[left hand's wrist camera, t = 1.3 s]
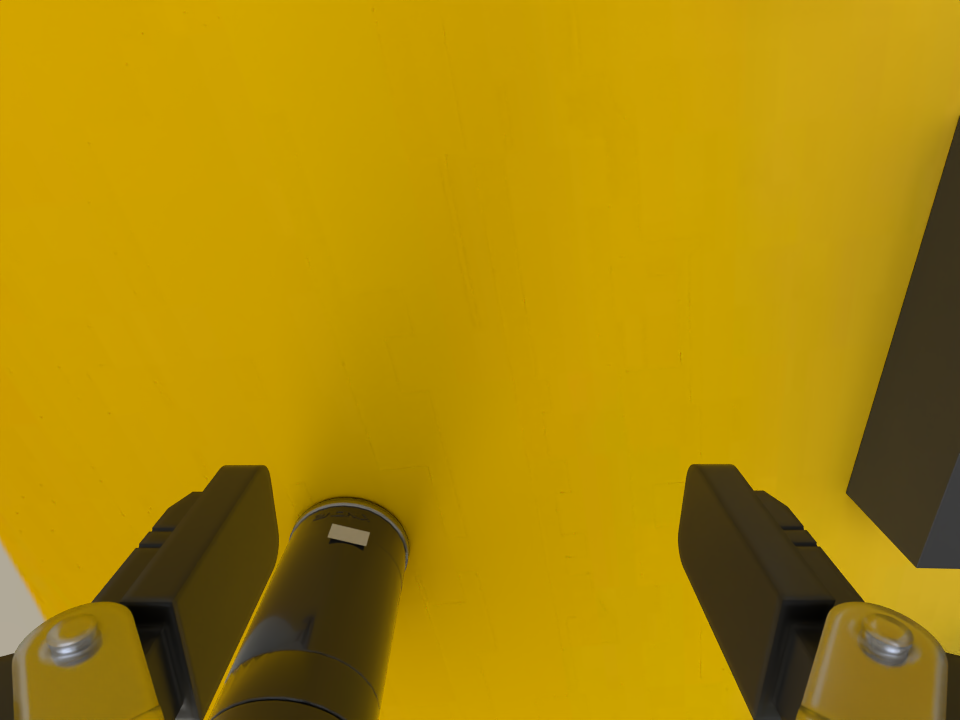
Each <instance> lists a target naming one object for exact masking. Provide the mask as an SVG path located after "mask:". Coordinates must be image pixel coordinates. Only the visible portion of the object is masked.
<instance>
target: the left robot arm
mask: <svg viewBox="0 0 960 720" xmlns="http://www.w3.org/2000/svg"><path fill="white" fill-rule="evenodd" d="M803 527H804V526H803V525H802V524H801V523H800V521H799V520H798V519H797V518H796V516H795V515H794V514H793V513H792V511H791V510H790V509H789V508H788V507H787V506H786V505H784V504H783V503H781V502H780V501H778V500H777V499H775V498H774V497H772V496H771V495H769V494H768V493H766V492H765V491H753V489H752V488H751V487H750V485H749V484H748V483H747V481H746V480H745V479H744V477H743V476H742V475H741V473H740V472H739V471H738V469H737V468H736V467H735V466H734V465H732V464H693V465H691V466H690V467H689V469H688V472H687V476H686V483H685V490H684V497H683V504H682V511H681V518H680V525H679V532H678V546H679V554H680V558H681V562H682V565H683V568H684V570H685V572H686V574H687V576H688V579H689V581H690V583H691V585H692V587H693V589H694V592H695V594H696V596H697V598H698V600H699V602H700V605H701V607H702V609H703V611H704V613H705V615H706V618H707V620H708V622H709V624H710V626H711V628H712V631H713V633H714V635H715V637H716V639H717V641H718V644H719V646H720V648H721V650H722V652H723V654H724V657H725V659H726V661H727V663H728V665H729V667H730V670H731V672H732V674H733V676H734V678H735V680H736V683H737V685H738V687H739V689H740V691H741V694H742V696H743V698H744V700H745V702H746V704H747V707H748V709H749V711H750V713H751V715H752V717H753V720H960V656H958V655H954V654H950V653H946V652H945V651H944V650H943V648H942V646H941V645H940V644H939V642H938V641H937V640H936V639H935V638H934V637H933V636H932V635H931V634H930V633H929V632H928V631H927V630H926V629H924V628H923V627H922V626H920V625H919V624H918V623H916V622H915V621H913V620H911V619H910V618H908V617H906V616H904V615H902V614H901V613H898V612H896V611H894V610H891V609H889V608H886V607H883V606H880V605H876V604H872V603H865V602H864V601H863V599H862V598H861V597H860V596H859V594H858V593H857V592H856V591H855V589H854V588H853V587H852V586H851V584H850V583H849V582H848V581H847V579H846V578H845V577H844V576H843V575H842V573H841V572H840V571H839V570H838V568H837V567H836V566H835V565H834V563H833V562H832V561H831V560H830V558H829V557H828V556H827V555H826V554H825V552H824V551H823V550H822V549H821V547H817V545H816V543H817V542H816V541H815V540H814V539H813V537H812V536H811V535H810V534H809V532H808V531H807V530H804V528H803ZM278 547H279V534H278V526H277V519H276V512H275V506H274V499H273V492H272V485H271V478H270V474H269V471H268V469H267V467H266V466H264V465H225V466H223V467H221V468H220V470H219V471H218V472H217V474H216V475H215V476H214V478H213V479H212V480H211V481H210V483H209V484H208V485H207V487H206V488H205V489H204V491H203V492H192V493H190V494H189V495H187V496H186V497H184V498H183V499H181V500H180V501H178V502H177V503H175V504H174V505H172V506H171V507H170V508H168V509H167V510H166V512H165V513H164V514H163V515H162V517H161V518H160V519H159V520H158V521H157V523H156V524H155V525H154V526H153V528H152V532H149V533H148V534H147V535H146V536H145V537H144V539H143V540H142V541H141V542H140V544H139V548H135V550H134V551H133V552H132V553H131V555H130V556H129V557H128V558H127V559H126V561H125V562H124V563H123V564H122V566H121V567H120V568H119V569H118V571H117V572H116V573H115V574H114V575H113V577H112V578H111V579H110V580H109V582H108V583H107V584H106V585H105V586H104V588H103V589H102V590H101V591H100V593H99V594H98V595H97V596H96V597H95V599H94V600H93V601H92V602H91V603H88V604H84V605H80V606H77V607H74V608H71V609H69V610H66V611H64V612H62V613H59V614H58V615H56V616H54V617H52V618H50V619H49V620H47V621H45V622H44V623H42V624H41V625H40V626H38V627H37V628H36V629H34V630H33V631H32V632H31V633H30V634H29V635H28V636H27V637H26V638H25V639H24V640H23V641H22V642H21V644H20V645H19V646H18V648H17V650H16V651H15V653H13V654H10V655H6V656H2V657H0V720H203V719H204V717H205V714H206V712H207V710H208V708H209V706H210V704H211V702H212V699H213V697H214V695H215V693H216V691H217V689H218V687H219V684H220V682H221V680H222V678H223V676H224V674H225V672H226V669H227V667H228V665H229V663H230V661H231V659H232V657H233V654H234V652H235V650H236V648H237V646H238V644H239V642H240V639H241V637H242V635H243V633H244V631H245V629H246V627H247V624H248V622H249V620H250V618H251V616H252V614H253V612H254V609H255V607H256V605H257V603H258V601H259V599H260V597H261V594H262V592H263V590H264V588H265V586H266V584H267V582H268V579H269V577H270V575H271V573H272V571H273V569H274V566H275V563H276V559H277V555H278ZM408 555H409V543H408V538H407V535H406V533H405V531H404V529H403V527H402V526H401V524H400V523H399V522H398V520H397V519H396V518H395V517H394V516H393V515H392V514H390V513H389V512H388V511H386V510H385V509H383V508H382V507H380V506H378V505H376V504H373V503H371V502H368V501H365V500H361V499H355V498H335V499H330V500H326V501H323V502H320V503H318V504H316V505H314V506H312V507H311V508H309V509H308V510H307V511H305V512H304V513H303V514H302V515H301V517H300V518H299V519H298V521H297V522H296V524H295V526H294V528H293V531H292V533H291V535H290V538H289V543H288V545H287V547H286V549H285V551H284V554H283V556H282V558H281V560H280V562H279V564H278V566H277V568H276V571H275V573H274V575H273V577H272V579H271V582H270V584H269V586H268V588H267V590H266V593H265V595H264V597H263V599H262V601H261V604H260V606H259V608H258V610H257V612H256V615H255V617H254V619H253V621H252V623H251V626H250V628H249V630H248V632H247V634H246V637H245V639H244V641H243V643H242V646H241V648H240V650H239V652H238V654H237V657H236V659H235V661H234V663H233V665H232V668H231V670H230V672H229V674H228V676H227V679H226V681H225V684H224V686H223V688H222V690H221V692H220V695H219V697H218V699H217V701H216V703H215V706H214V708H213V710H212V712H211V714H210V717H209V719H208V720H379V714H380V708H381V702H382V696H383V691H384V685H385V679H386V673H387V668H388V662H389V656H390V650H391V645H392V639H393V633H394V628H395V622H396V616H397V610H398V605H399V599H400V594H401V589H402V583H403V577H404V572H405V569H406V566H407V562H408Z"/></svg>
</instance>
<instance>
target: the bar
mask: <svg viewBox="0 0 960 720" xmlns="http://www.w3.org/2000/svg"><path fill="white" fill-rule="evenodd" d="M846 494H847V495H848V496H849V497H850V498H851V499H852V500H853V501H854V502H855V503H856V504H857V505H858V506H859V507H860V509H861V510H862V511H863V512H864V513H865V514H866V515H867V516H868V517H869V518H870V519H871V520H872V521H873V522H874V523H875V524H876V526H877V527H878V528H879V529H880V530H881V531H882V532H883V533H884V534H885V535H886V536H887V537H888V538H889V539H890V540H891V541H892V542H893V544H894V545H895V546H896V547H897V548H898V549H899V550H900V551H901V552H902V553H903V554H904V555H905V556H906V557H907V558H908V559H909V561H910V562H911V563H912V564H913V565H914V566H915V567H916V568H945V569H960V118H959V121H958V124H957V127H956V131H955V134H954V137H953V141H952V144H951V147H950V151H949V154H948V157H947V161H946V164H945V167H944V170H943V174H942V177H941V180H940V184H939V187H938V190H937V194H936V197H935V200H934V204H933V207H932V210H931V214H930V217H929V220H928V223H927V227H926V230H925V233H924V237H923V240H922V243H921V247H920V250H919V253H918V257H917V260H916V263H915V266H914V270H913V273H912V276H911V280H910V283H909V286H908V290H907V293H906V296H905V300H904V303H903V306H902V310H901V313H900V316H899V319H898V323H897V326H896V329H895V333H894V336H893V339H892V343H891V346H890V349H889V353H888V356H887V359H886V363H885V366H884V369H883V372H882V376H881V379H880V382H879V386H878V389H877V392H876V396H875V399H874V402H873V406H872V409H871V412H870V415H869V419H868V422H867V425H866V429H865V432H864V435H863V439H862V442H861V445H860V449H859V452H858V455H857V459H856V462H855V465H854V468H853V472H852V475H851V478H850V482H849V485H848V488H847V492H846Z"/></svg>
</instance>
